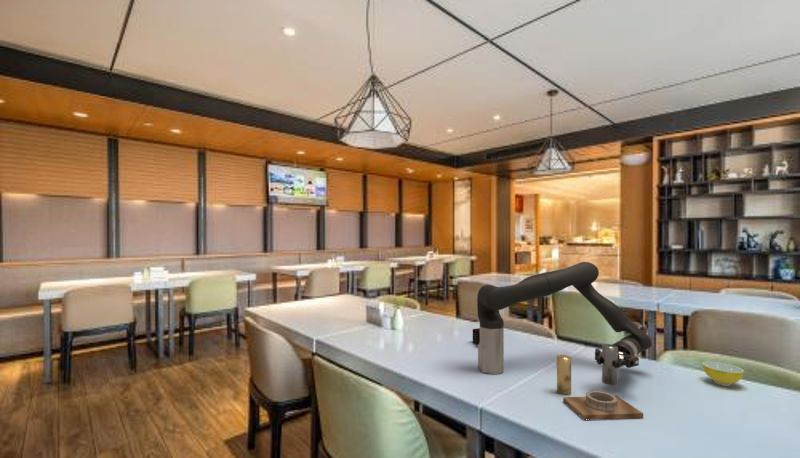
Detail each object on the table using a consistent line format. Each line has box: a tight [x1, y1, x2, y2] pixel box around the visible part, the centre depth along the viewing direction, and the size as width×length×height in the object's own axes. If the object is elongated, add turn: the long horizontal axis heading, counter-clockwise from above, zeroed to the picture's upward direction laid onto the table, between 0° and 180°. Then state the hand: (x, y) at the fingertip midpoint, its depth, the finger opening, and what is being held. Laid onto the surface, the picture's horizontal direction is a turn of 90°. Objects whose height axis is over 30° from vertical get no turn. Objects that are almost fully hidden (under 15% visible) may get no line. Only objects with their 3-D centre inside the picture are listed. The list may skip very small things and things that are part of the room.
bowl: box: [701, 361, 745, 387], centre depth 137 cm, size 11×12×6 cm
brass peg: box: [556, 354, 572, 396], centre depth 129 cm, size 4×4×12 cm
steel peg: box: [601, 343, 618, 386], centre depth 126 cm, size 4×4×12 cm
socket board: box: [562, 390, 644, 421], centre depth 116 cm, size 18×12×4 cm, turn 95°
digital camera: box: [472, 327, 480, 346], centre depth 182 cm, size 10×5×7 cm, turn 25°
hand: (607, 363), depth 124 cm, fingers closed on steel peg, 4 cm apart
